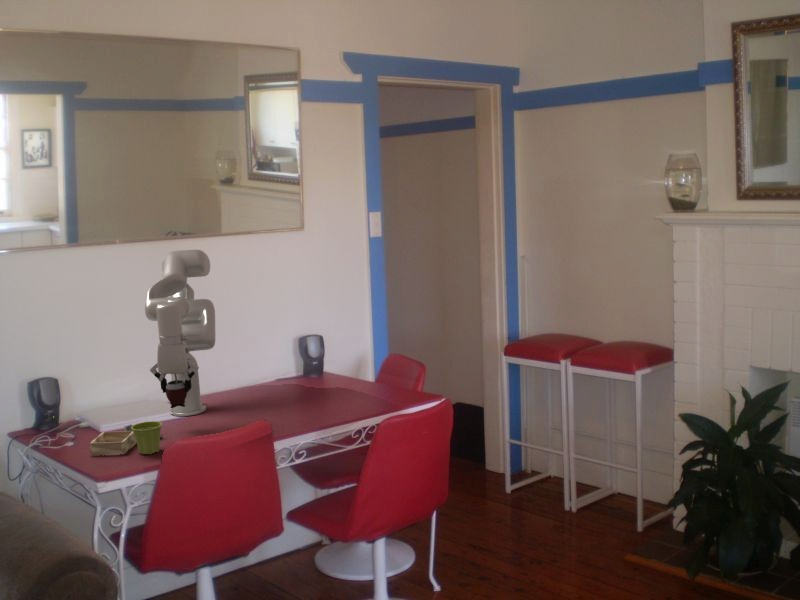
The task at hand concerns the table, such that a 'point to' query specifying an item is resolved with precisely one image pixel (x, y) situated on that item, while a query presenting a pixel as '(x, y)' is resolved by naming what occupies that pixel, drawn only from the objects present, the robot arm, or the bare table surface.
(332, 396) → the table surface
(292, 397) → the table surface
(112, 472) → the table surface
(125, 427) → the clip
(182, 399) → the mate gourd
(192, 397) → the robot arm
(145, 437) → the plant pot
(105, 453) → the holder
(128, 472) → the table surface
